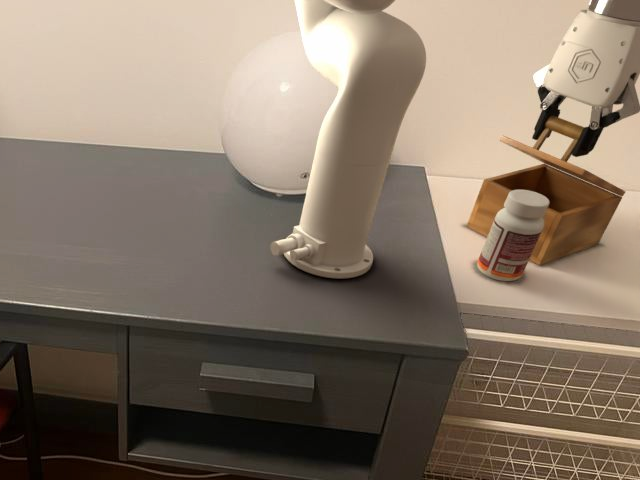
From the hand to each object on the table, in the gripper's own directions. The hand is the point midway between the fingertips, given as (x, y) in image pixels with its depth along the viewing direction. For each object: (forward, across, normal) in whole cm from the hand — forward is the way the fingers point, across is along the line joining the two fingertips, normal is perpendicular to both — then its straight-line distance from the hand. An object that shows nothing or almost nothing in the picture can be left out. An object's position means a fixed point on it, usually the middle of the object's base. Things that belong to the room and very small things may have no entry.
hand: (560, 145), depth 104 cm
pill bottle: (+15, +5, -11) cm, 19 cm away
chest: (+15, 0, +3) cm, 15 cm away
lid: (+4, 0, +3) cm, 5 cm away
